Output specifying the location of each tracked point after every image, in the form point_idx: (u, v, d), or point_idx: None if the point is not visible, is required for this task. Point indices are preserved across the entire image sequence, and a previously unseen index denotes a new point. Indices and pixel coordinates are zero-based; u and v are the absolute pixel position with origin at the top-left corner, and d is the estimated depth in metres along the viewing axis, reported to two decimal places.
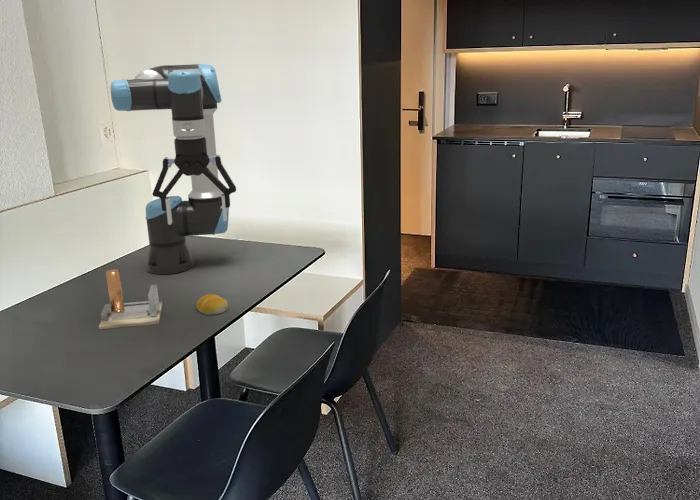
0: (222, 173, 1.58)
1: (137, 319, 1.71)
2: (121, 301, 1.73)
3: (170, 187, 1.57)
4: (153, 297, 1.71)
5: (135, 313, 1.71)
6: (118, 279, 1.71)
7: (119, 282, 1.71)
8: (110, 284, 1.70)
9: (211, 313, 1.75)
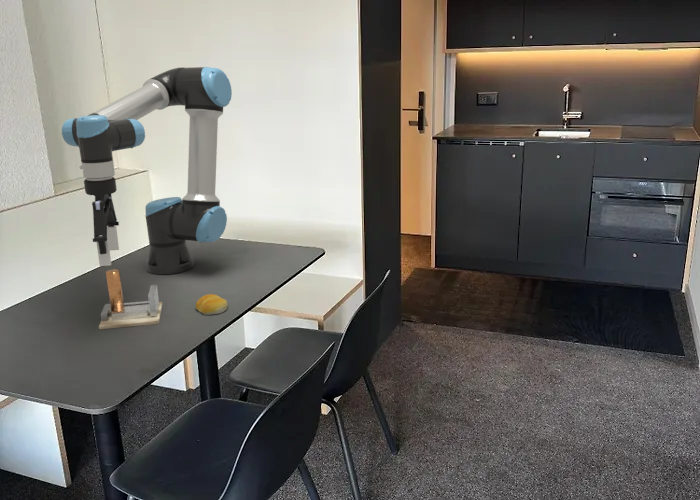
0: None
1: (137, 319, 1.71)
2: (121, 301, 1.73)
3: None
4: (153, 297, 1.71)
5: (135, 313, 1.71)
6: (118, 279, 1.71)
7: (119, 282, 1.71)
8: (110, 284, 1.70)
9: (211, 313, 1.75)
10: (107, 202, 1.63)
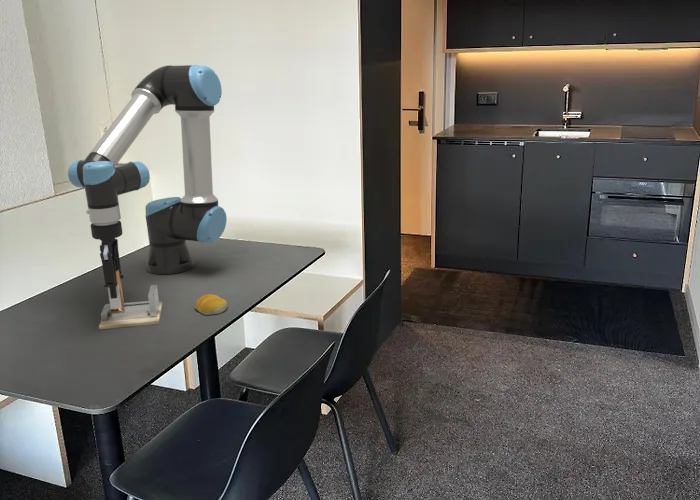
0: (103, 267, 1.65)
1: (137, 319, 1.71)
2: (121, 301, 1.73)
3: None
4: (153, 297, 1.71)
5: (135, 313, 1.71)
6: (118, 279, 1.71)
7: (119, 282, 1.71)
8: None
9: (210, 313, 1.75)
10: (113, 247, 1.67)
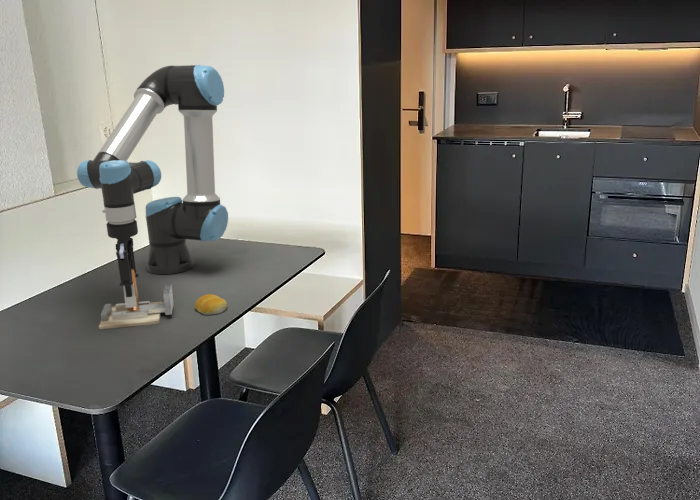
0: (119, 265, 1.66)
1: (137, 319, 1.71)
2: (136, 300, 1.73)
3: None
4: (168, 296, 1.71)
5: (135, 313, 1.71)
6: (133, 278, 1.71)
7: (134, 281, 1.72)
8: None
9: (210, 313, 1.75)
10: (129, 245, 1.68)
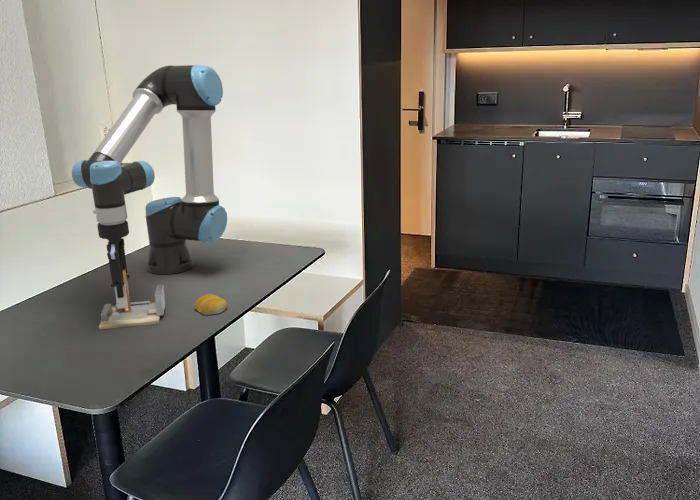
0: (110, 266, 1.65)
1: (137, 319, 1.71)
2: (128, 300, 1.73)
3: None
4: (160, 296, 1.71)
5: (135, 313, 1.71)
6: (125, 278, 1.71)
7: (126, 281, 1.71)
8: None
9: (210, 313, 1.75)
10: (120, 246, 1.67)
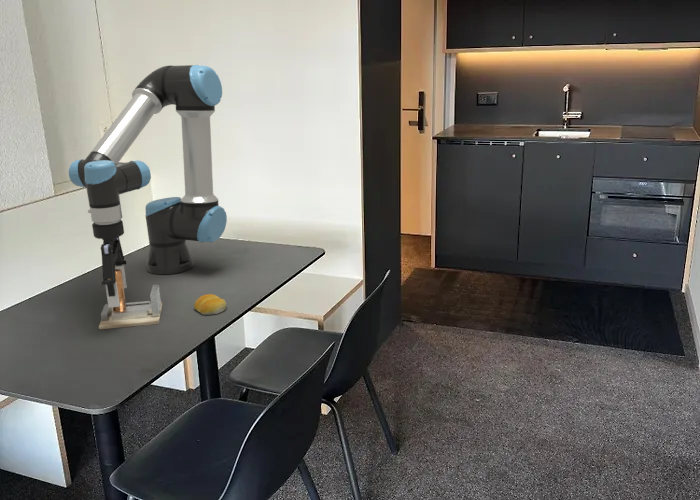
0: None
1: (137, 319, 1.71)
2: (123, 301, 1.73)
3: None
4: (155, 297, 1.71)
5: (135, 313, 1.71)
6: (120, 279, 1.71)
7: (121, 282, 1.71)
8: None
9: (209, 313, 1.75)
10: (115, 245, 1.67)
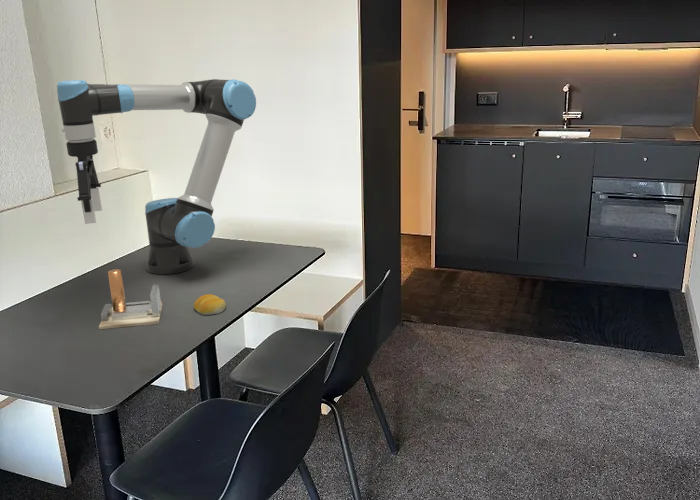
0: (78, 179, 1.67)
1: (137, 319, 1.71)
2: (123, 301, 1.73)
3: None
4: (155, 297, 1.71)
5: (135, 313, 1.71)
6: (120, 279, 1.71)
7: (121, 282, 1.71)
8: (112, 284, 1.70)
9: (209, 313, 1.75)
10: (89, 163, 1.72)
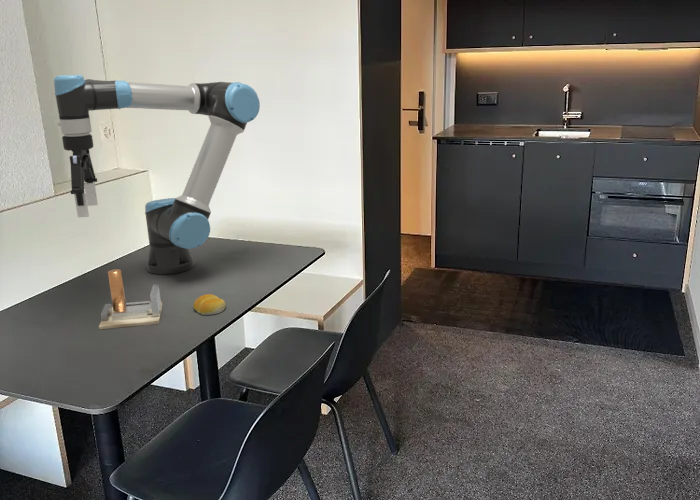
0: None
1: (137, 319, 1.71)
2: (123, 301, 1.73)
3: None
4: (155, 297, 1.71)
5: (135, 313, 1.71)
6: (120, 279, 1.71)
7: (121, 282, 1.71)
8: (112, 284, 1.70)
9: (209, 313, 1.75)
10: (84, 157, 1.73)
